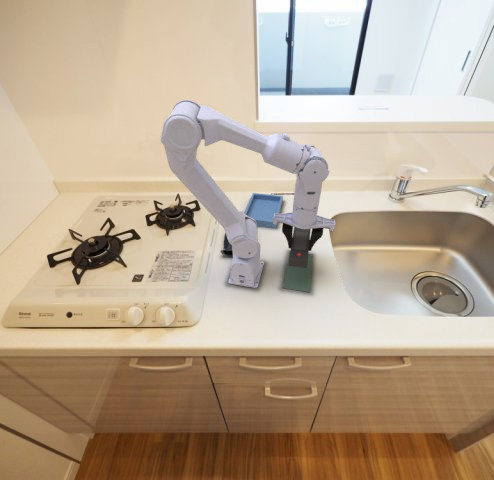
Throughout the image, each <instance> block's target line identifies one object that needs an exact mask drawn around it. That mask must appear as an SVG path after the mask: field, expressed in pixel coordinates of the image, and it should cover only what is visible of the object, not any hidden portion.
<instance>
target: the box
mask: <svg viewBox="0 0 494 480" xmlns="http://www.w3.org/2000/svg"><path fill="white" fill-rule="evenodd" d="M283 201H284V196H283V195H277V194H266V193H257V192H252V194H251V196H250V199H249V201H248V204H247V206H246V208H245V210H244V211H243V212H244V213H245V214H246V215H247V216H249V217H251V218H253V219H254V220H255V221H256V223H257V227H263V228H272V229H276V228H277V225H278V224H273V217H274V213H279V214H280V213H281V210H282V206H283Z"/></svg>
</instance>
